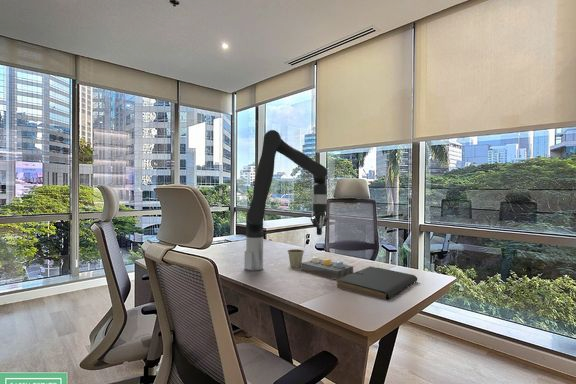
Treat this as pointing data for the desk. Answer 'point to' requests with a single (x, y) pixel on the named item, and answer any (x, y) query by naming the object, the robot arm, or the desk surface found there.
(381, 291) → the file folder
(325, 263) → the amber button
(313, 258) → the ivory button
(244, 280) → the desk surface
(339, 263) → the slate button
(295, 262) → the flower pot
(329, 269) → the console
